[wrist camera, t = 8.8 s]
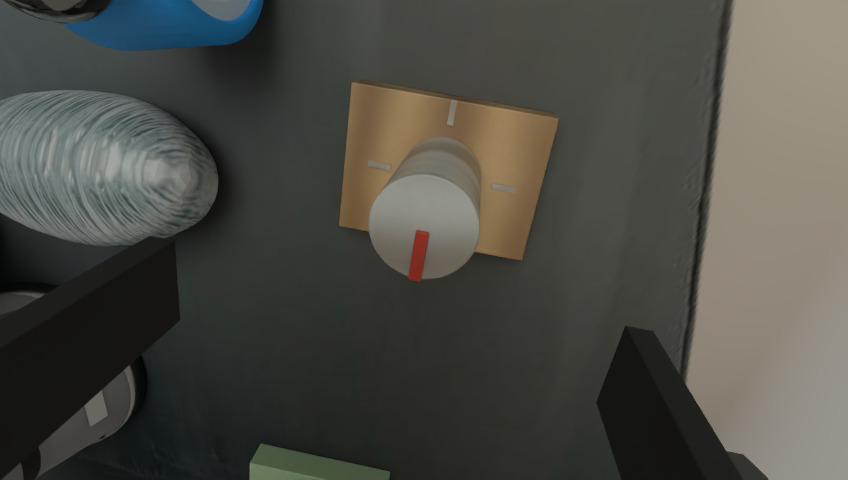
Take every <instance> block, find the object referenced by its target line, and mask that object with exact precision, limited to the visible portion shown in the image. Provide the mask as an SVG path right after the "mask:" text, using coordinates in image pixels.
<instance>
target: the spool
mask: <svg viewBox="0 0 848 480" xmlns="http://www.w3.org/2000/svg"><path fill="white" fill-rule="evenodd" d="M217 191H218V173H217V168H216V164H215V161H214V159H213V157H212V155H211V154H210V152H209V151H208V149H207V148H206V146H205V145H204V144H203V143H202V142H201V140H200V139H199V138H198V137H197V136H196V135H195V134H194V133H193V132H192V131H191V130H190V129H189V128H188V127H187V126H185V125H184V124H183V123H181V122H180V121H179V120H177V119H176V118H175V117H174V116H172V115H171V114H169V113H167V112H165V111H163V110H162V109H160V108H159V107H157V106H155V105H152V104H150V103H147V102H144V101H142V100H139V99H136V98H133V97H130V96H126V95H121V94H116V93H110V92H101V91H85V90H57V91H45V92H35V93H26V94H20V95H16V96H13V97H10V98H7V99H4V100H1V101H0V212H1V213H2V214H4V215H6V216H7V217H9V218H11V219H13V220H15V221H17V222H19V223H21V224H23V225H25V226H27V227H29V228H31V229H34V230H36V231H39V232H42V233H45V234H48V235H51V236H54V237H57V238H60V239H63V240H67V241H72V242H76V243H81V244H87V245H94V246H116V245H134V244H136V243H138V242H139V241H141V240H143V239H145V238H147V237H148V236H153V237H158V238H167V237H170V236H173V235H175V234H177V233H178V232H181V231H183V230H185V229H188V228H190V227H191V226H193V225H194V224H196V223H197V222H199V221H200V220H201V219H202V218H203V217H204V216H205V215H206V214H207V213H208V211H209V210H210V208H211V206H212V204H213V202H214V200H215V198H216V195H217Z"/></svg>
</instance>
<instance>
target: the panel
mask: <svg viewBox="0 0 848 480" xmlns="http://www.w3.org/2000/svg"><path fill="white" fill-rule="evenodd" d="M558 122H559V118H558V117H557V116H556V115H555V114H554V113H551V112H545V111H539V110H534V109H528V108H522V107H517V106H511V105H505V104H499V103H494V102H488V101H482V100H477V99H471V98H465V97H459V96H454V95H448V94H442V93H437V92H431V91H425V90H419V89H414V88H408V87H402V86H396V85H391V84H385V83H379V82H374V81H368V80H359V81H355V82H352V85H351V96H350V107H349V118H348V129H347V141H346V152H345V163H344V174H343V186H342V197H341V208H340V219H339V226H343V227H348V228H353V229H358V230H363V231H369V225H368V224H369V214H370V210H371V207H372V204H373V203H374V201H375V199H376V197H377V196H378V194H379V193H380V192H381V190H382V189H383V188H384V186H385V185H386V183H387V182H388V181H389V179H390V178H391V176H392V175H393V174H394V172H395V171H396V170H397V168H398V167H399V165H400V164H401V163H402V161H403V160H404V159H405V157H406V156H407V154H408V153H409V152H410V150H411V149H412V148H413V147H414V146H416V145H417V144H418V143H420V142H422V141H424V140H426V139H429V138H432V137H449V138H453V139H455V140H458V141H460V142H462V143H463V144H465V145H466V146H467V147H468V148H469V149H470V150H471V151H472V152H473V153H474V155H475V156H476V158H477V160H478V163H479V166H480V170H481V200H480V235H479V240H478V244H477V247H476V249H475V251H474V252H478V253H484V254H489V255H494V256H499V257H505V258H510V259H515V260H520V261H522V258H523V254H524V251H525V247H526V243H527V239H528V235H529V232H530V228H531V224H532V220H533V217H534V213H535V209H536V205H537V202H538V198H539V194H540V190H541V187H542V183H543V179H544V175H545V171H546V168H547V164H548V160H549V156H550V153H551V149H552V145H553V141H554V138H555V134H556V130H557V126H558Z"/></svg>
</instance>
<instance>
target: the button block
mask: <svg viewBox="0 0 848 480" xmlns="http://www.w3.org/2000/svg"><path fill="white" fill-rule="evenodd" d="M389 478H390V471H385V470H381V469H376V468H371V467H367V466H362V465H358V464H353V463H348V462H344V461H339V460H334V459H330V458H325V457H321V456H316V455H311V454H307V453H302V452H298V451H293V450H288V449H284V448H279V447H275V446H270V445H265V444H260V446H259V448H258V450H257V451H256V453H255V455H254V457H253V458H252V460H251V462H250V480H389Z"/></svg>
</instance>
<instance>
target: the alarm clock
mask: <svg viewBox="0 0 848 480" xmlns="http://www.w3.org/2000/svg"><path fill="white" fill-rule="evenodd" d="M3 1H4V2H6V3H8V4H9V5H11V6H12V7H14V8H16V9H18V10H20V11H22V12H24V13H26V14H28V15H30V16H33V17H36V18H39V19H42V20H47V21H51V22H56V23H61V24H62V25H64V26H65V27H67V28H68V29H70V30H71V31H73V32H74V33H76V34H78V35H80V36H82V37H83V38H85V39H87V40H90V41H92V42H94V43H96V44H99V45H102V46H105V47H108V48H113V49H118V50H127V51H135V50H151V49H167V48H183V47H199V46H214V45H228V44H231V43H235V42H238V41H240V40H241V39H243V38H244V37H245V36H246V35H247V34H248V33H249V32H250V31H251V30H252V29H253V27H254V26H255V24H256V22H257V21H258V18H259V16H260V13H261V10H262V6H263V2H264V0H3Z"/></svg>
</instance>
